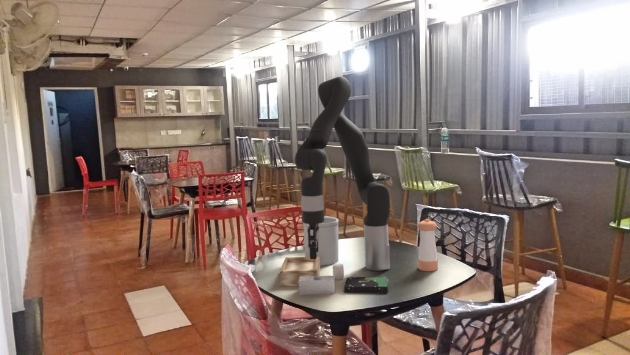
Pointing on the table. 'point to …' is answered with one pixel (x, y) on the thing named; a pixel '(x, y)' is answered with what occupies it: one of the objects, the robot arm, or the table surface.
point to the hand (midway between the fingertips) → (314, 255)
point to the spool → (338, 271)
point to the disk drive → (366, 285)
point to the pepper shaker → (427, 246)
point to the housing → (316, 285)
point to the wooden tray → (298, 269)
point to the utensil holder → (325, 241)
